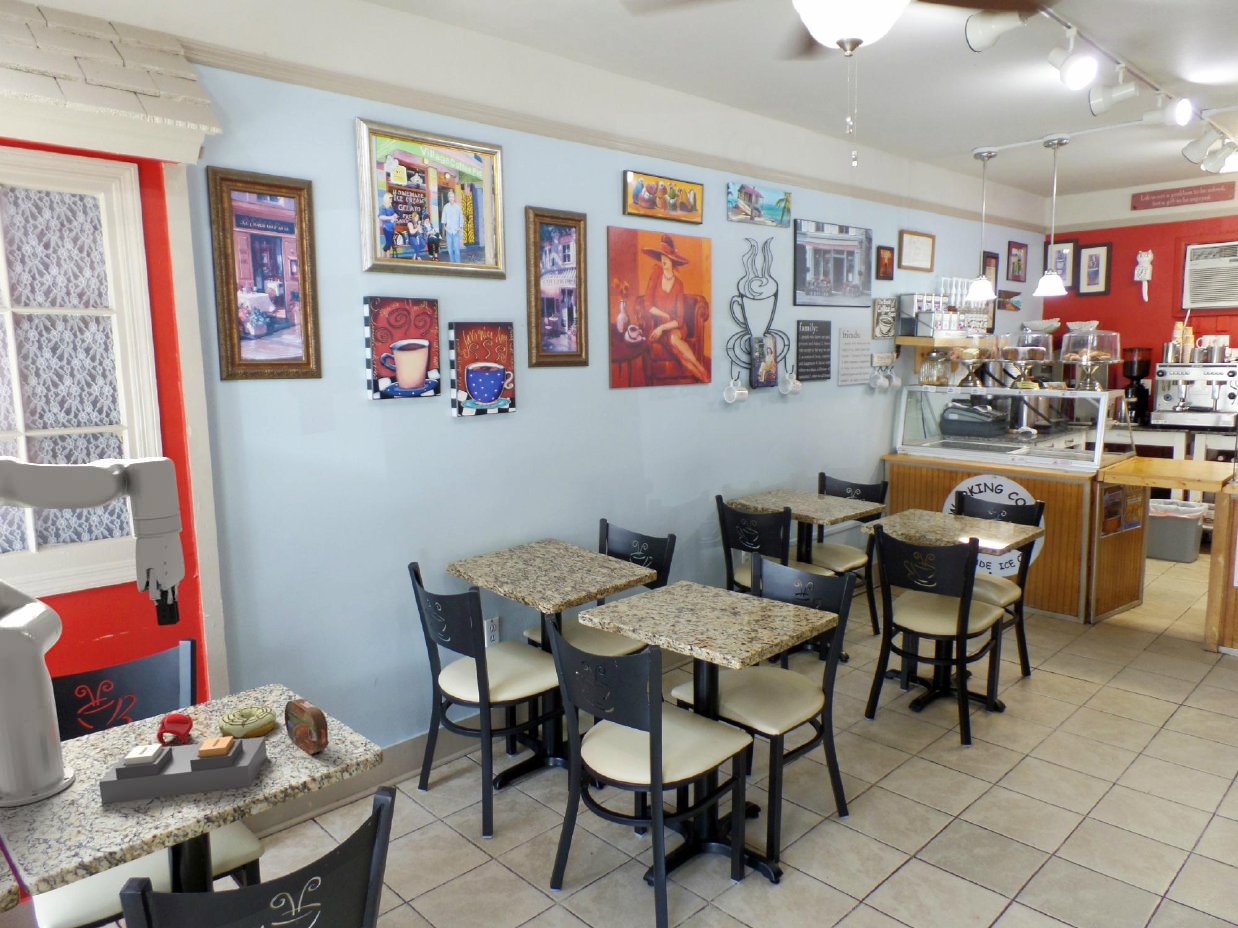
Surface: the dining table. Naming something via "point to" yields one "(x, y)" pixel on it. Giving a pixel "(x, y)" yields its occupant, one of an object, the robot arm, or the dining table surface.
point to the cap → (175, 727)
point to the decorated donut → (248, 722)
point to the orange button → (216, 746)
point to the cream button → (143, 754)
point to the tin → (306, 726)
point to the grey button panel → (184, 772)
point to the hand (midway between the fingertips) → (169, 623)
